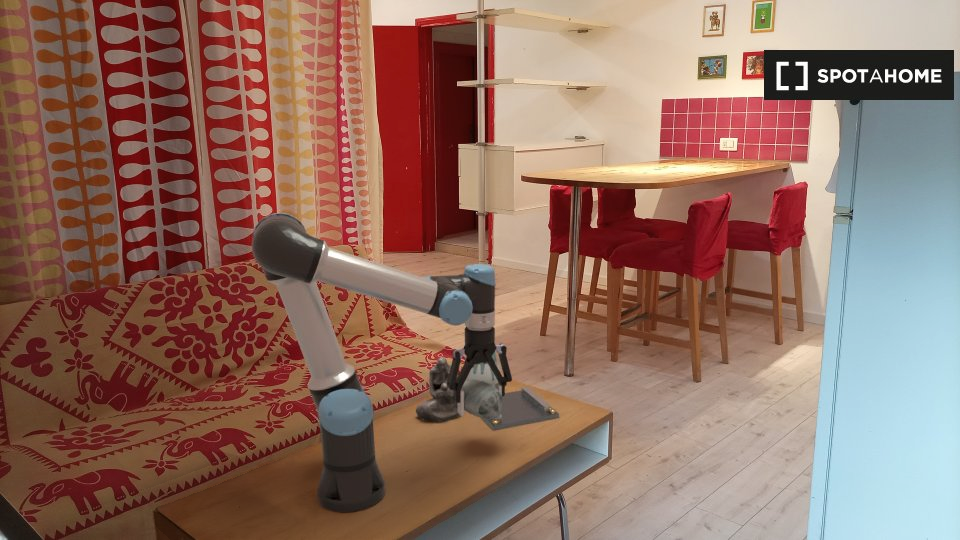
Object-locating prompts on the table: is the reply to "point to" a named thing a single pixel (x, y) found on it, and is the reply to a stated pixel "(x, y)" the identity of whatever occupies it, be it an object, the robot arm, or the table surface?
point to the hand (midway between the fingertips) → (479, 411)
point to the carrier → (522, 410)
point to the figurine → (439, 396)
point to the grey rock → (482, 399)
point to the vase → (484, 372)
